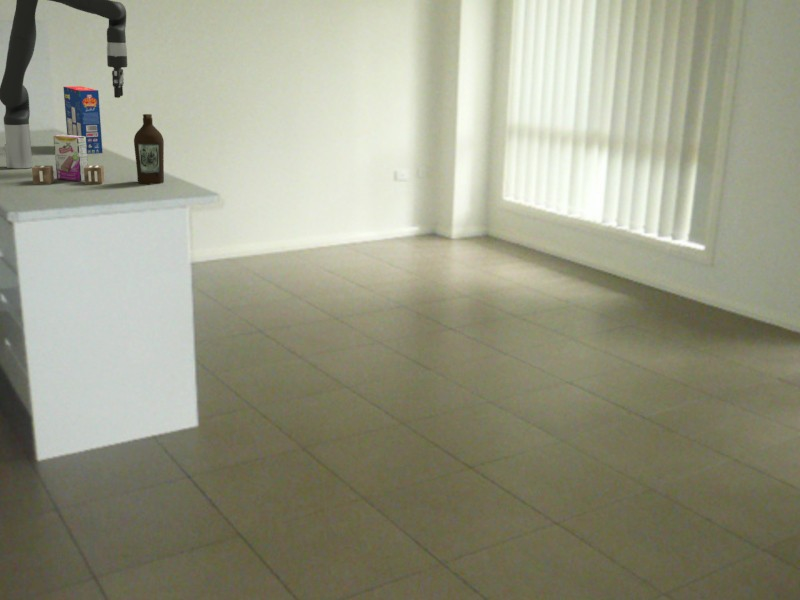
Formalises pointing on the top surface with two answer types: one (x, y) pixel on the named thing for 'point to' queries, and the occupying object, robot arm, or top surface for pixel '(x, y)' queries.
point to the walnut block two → (94, 174)
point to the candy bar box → (70, 157)
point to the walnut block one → (42, 174)
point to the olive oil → (149, 153)
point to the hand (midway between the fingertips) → (118, 96)
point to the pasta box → (84, 116)
